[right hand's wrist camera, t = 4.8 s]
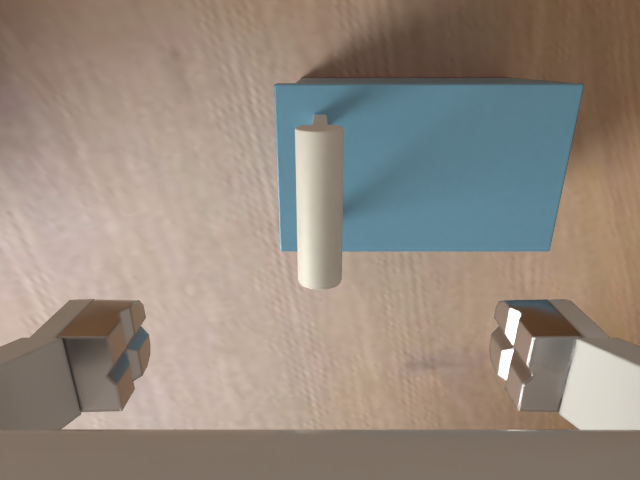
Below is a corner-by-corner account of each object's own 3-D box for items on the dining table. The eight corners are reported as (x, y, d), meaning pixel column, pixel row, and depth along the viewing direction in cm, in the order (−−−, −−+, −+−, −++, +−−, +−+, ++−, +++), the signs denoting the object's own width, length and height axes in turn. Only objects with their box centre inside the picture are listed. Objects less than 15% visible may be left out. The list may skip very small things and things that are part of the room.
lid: (281, 244, 27) (266, 317, 19) (276, 83, 23) (254, 93, 16) (541, 244, 27) (628, 317, 19) (573, 83, 23) (695, 93, 16)
